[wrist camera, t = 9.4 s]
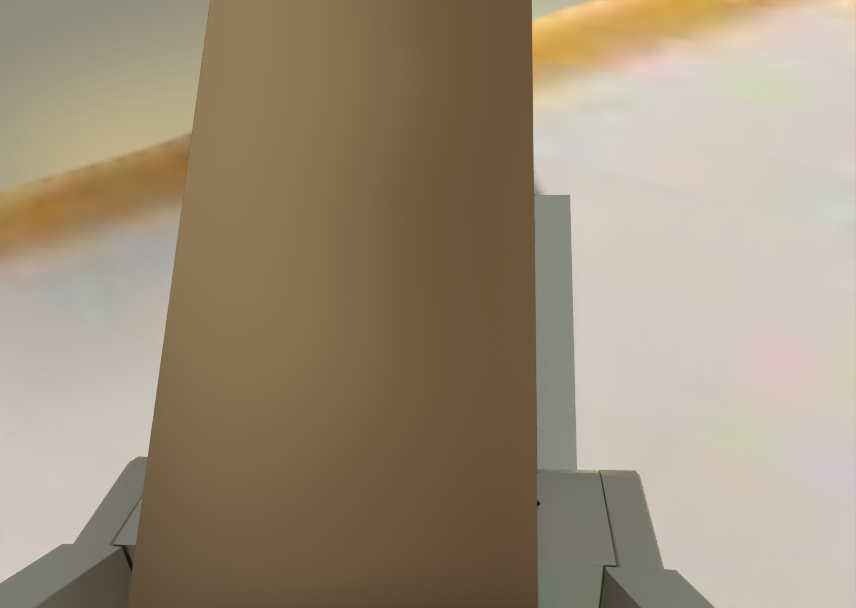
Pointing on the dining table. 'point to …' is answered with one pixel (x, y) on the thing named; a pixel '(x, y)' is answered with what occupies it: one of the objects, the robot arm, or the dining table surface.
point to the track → (554, 334)
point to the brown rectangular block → (351, 316)
